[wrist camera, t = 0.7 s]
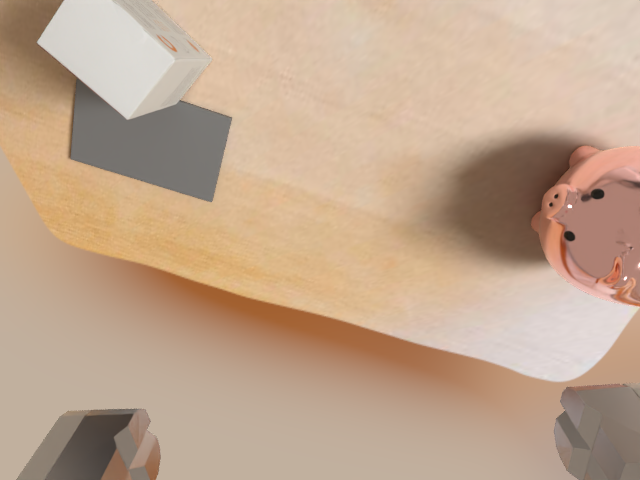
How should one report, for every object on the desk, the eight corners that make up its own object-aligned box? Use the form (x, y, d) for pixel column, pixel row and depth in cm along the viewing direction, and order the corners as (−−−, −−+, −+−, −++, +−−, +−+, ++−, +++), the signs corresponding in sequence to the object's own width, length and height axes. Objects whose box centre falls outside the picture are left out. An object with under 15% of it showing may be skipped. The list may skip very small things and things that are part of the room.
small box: (111, 48, 43) (31, 41, 31) (148, -4, 41) (80, -33, 29) (176, 106, 45) (127, 122, 33) (214, 59, 43) (177, 57, 31)
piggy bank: (555, 107, 45) (662, 142, 31) (697, 163, 47) (859, 219, 33) (484, 232, 51) (545, 309, 37) (612, 275, 54) (716, 364, 39)
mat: (80, 66, 44) (77, 67, 43) (232, 117, 46) (231, 118, 45) (72, 157, 48) (70, 159, 47) (212, 200, 50) (211, 202, 49)
